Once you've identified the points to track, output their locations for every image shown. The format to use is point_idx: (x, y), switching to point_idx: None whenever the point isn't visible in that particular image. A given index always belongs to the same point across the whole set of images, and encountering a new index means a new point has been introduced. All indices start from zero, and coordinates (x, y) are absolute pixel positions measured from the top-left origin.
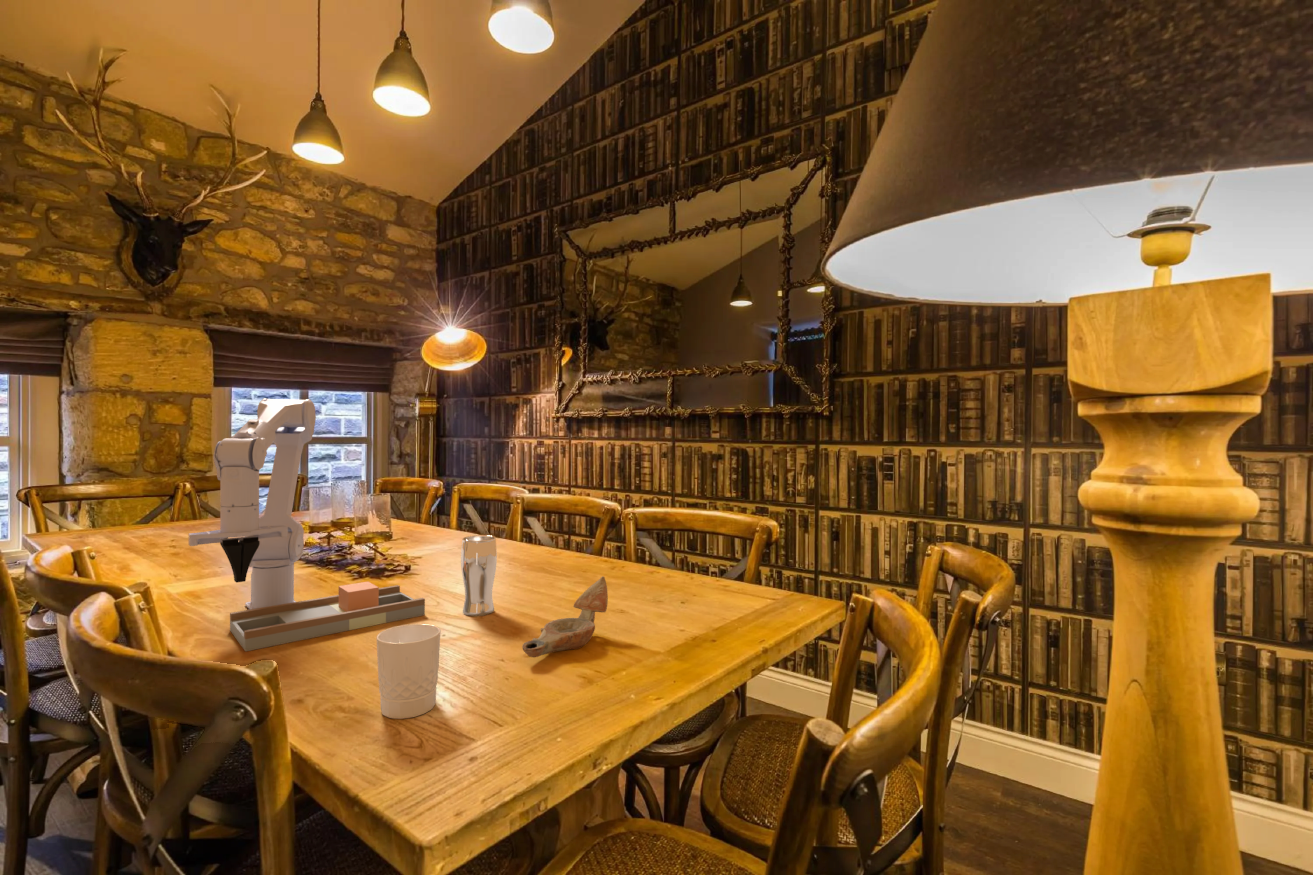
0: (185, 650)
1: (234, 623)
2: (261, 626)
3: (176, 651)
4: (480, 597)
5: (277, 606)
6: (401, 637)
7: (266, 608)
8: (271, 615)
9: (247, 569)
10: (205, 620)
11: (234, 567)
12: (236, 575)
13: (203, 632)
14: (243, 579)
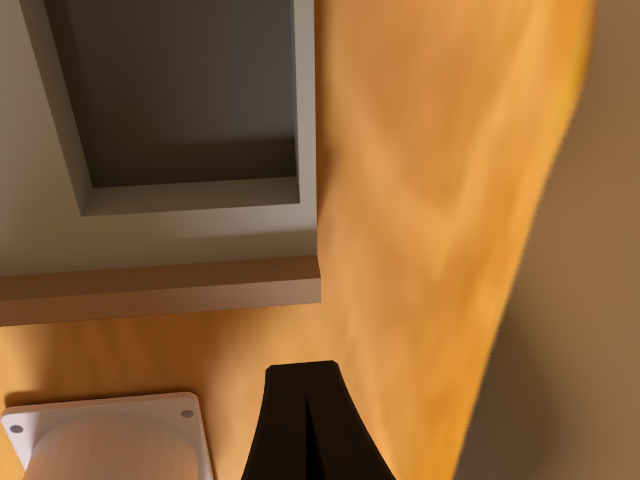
0: (541, 41)
1: (310, 197)
2: (177, 185)
3: (574, 53)
4: None
5: (78, 293)
6: None
7: (139, 289)
8: (119, 237)
9: (255, 449)
10: (366, 413)
11: (386, 472)
12: (349, 402)
13: (407, 275)
14: (284, 375)
